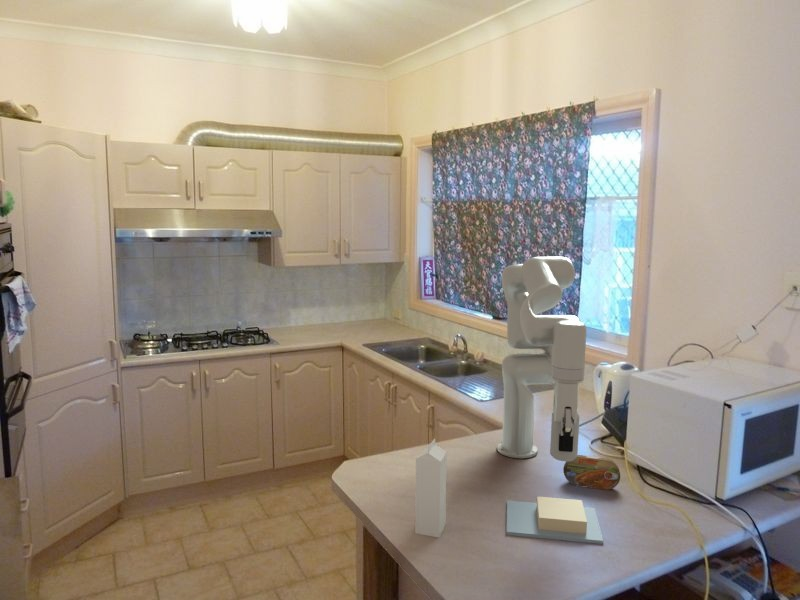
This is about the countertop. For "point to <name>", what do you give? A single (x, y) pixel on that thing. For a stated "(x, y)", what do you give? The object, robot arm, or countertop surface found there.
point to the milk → (431, 491)
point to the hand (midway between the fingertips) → (564, 444)
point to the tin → (592, 472)
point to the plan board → (530, 526)
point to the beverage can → (555, 441)
